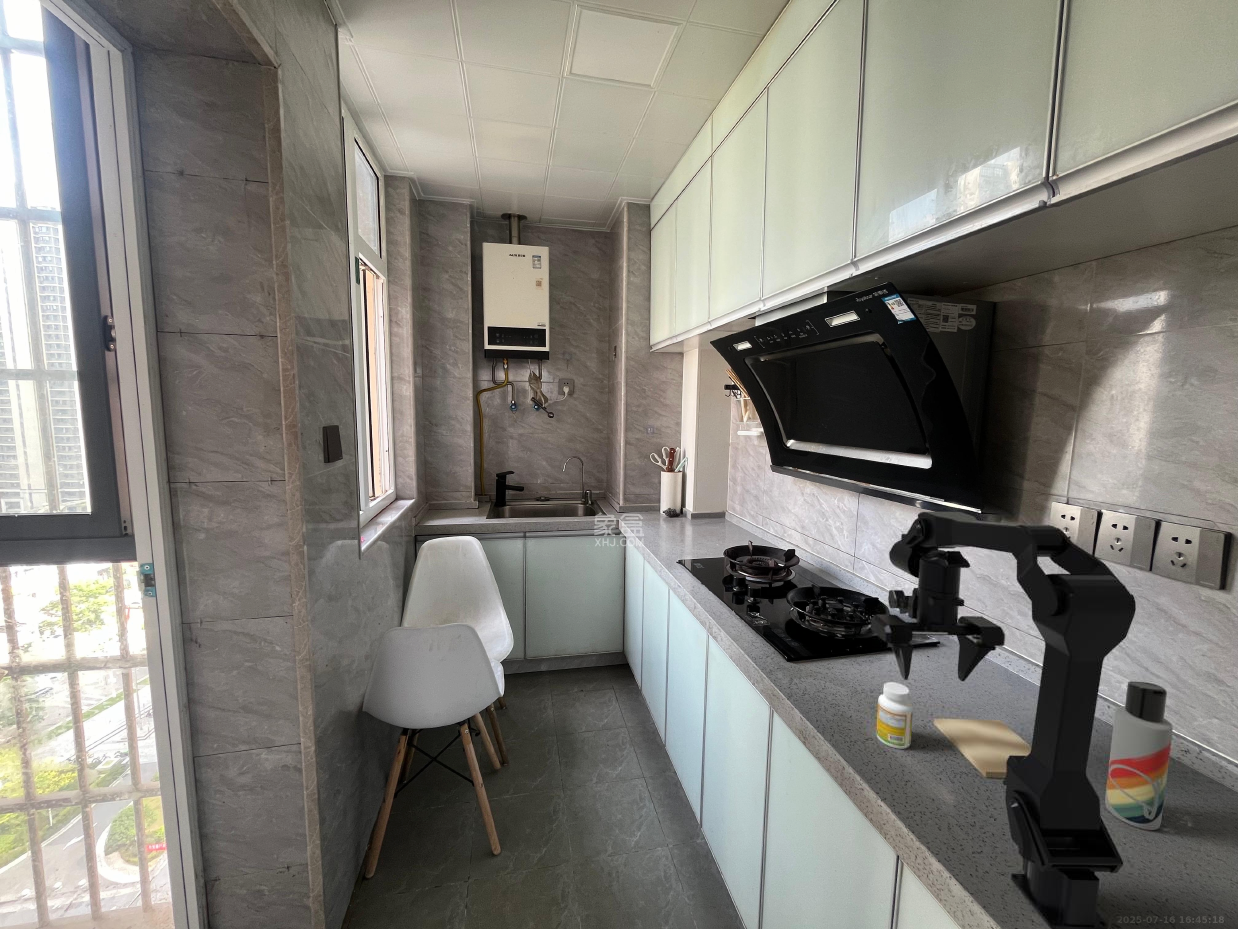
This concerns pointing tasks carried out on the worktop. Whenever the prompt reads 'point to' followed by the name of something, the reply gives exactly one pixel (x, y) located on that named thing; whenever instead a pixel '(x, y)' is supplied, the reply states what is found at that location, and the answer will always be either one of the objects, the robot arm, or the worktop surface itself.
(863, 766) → the worktop surface
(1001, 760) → the oak board
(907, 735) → the supplement bottle
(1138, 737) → the lotion bottle
